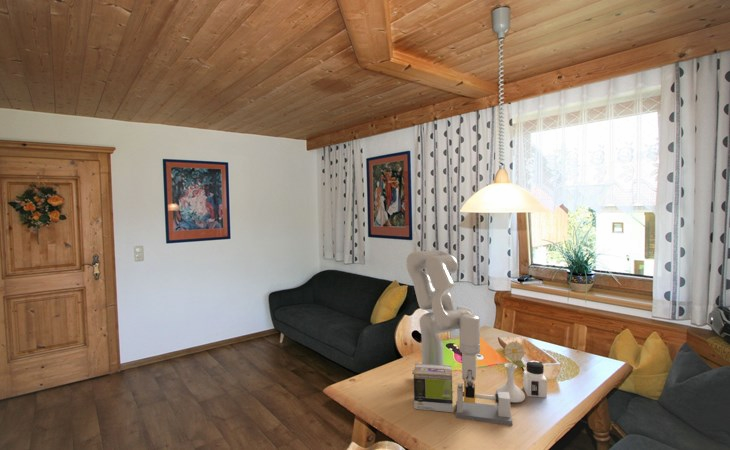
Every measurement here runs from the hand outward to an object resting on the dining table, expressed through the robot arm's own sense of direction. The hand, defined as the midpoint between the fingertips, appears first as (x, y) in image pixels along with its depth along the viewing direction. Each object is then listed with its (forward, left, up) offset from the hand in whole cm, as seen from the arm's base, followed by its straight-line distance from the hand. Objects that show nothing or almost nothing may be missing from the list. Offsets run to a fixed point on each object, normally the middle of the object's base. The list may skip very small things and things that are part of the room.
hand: (469, 391), depth 144 cm
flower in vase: (+17, +15, -9) cm, 24 cm away
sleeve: (0, 0, -4) cm, 4 cm away
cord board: (+5, 0, -9) cm, 10 cm away
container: (+27, +23, -9) cm, 36 cm away
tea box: (-14, +3, -9) cm, 17 cm away
